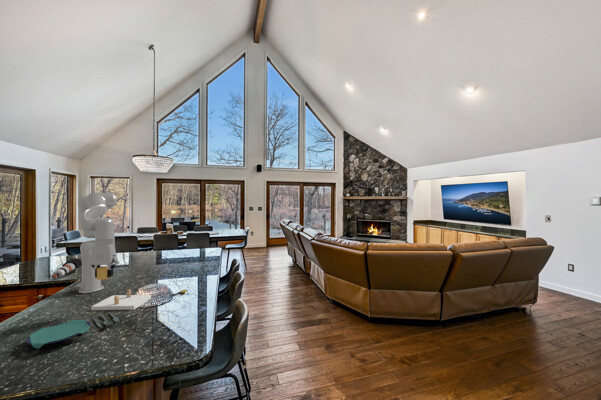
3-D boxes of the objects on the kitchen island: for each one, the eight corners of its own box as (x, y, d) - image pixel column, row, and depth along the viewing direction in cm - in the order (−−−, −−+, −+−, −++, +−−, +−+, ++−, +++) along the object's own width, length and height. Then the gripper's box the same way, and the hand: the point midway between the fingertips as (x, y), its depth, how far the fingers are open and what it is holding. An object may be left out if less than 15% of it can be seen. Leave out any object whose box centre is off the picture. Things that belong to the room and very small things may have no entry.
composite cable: (171, 297, 151) (171, 293, 151) (169, 295, 155) (169, 291, 155) (188, 293, 158) (188, 289, 158) (185, 291, 161) (185, 287, 161)
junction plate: (91, 310, 132) (91, 298, 132) (112, 298, 148) (112, 288, 148) (134, 309, 133) (134, 298, 133) (151, 298, 149) (151, 287, 149)
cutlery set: (24, 337, 107) (24, 331, 107) (111, 313, 130) (111, 309, 130) (27, 355, 94) (27, 349, 94) (123, 325, 117) (123, 320, 117)
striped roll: (55, 267, 183) (65, 277, 186) (77, 256, 215) (85, 265, 217) (41, 276, 180) (51, 286, 183) (64, 263, 212) (73, 272, 214)
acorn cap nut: (94, 279, 130) (94, 268, 130) (102, 276, 135) (102, 266, 135) (105, 279, 130) (105, 268, 130) (113, 276, 135) (113, 266, 135)
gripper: (81, 243, 129) (81, 279, 129) (115, 243, 129) (115, 279, 129) (93, 241, 137) (93, 275, 136) (125, 241, 137) (125, 274, 136)
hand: (104, 276), depth 133 cm, fingers closed on acorn cap nut, 5 cm apart
